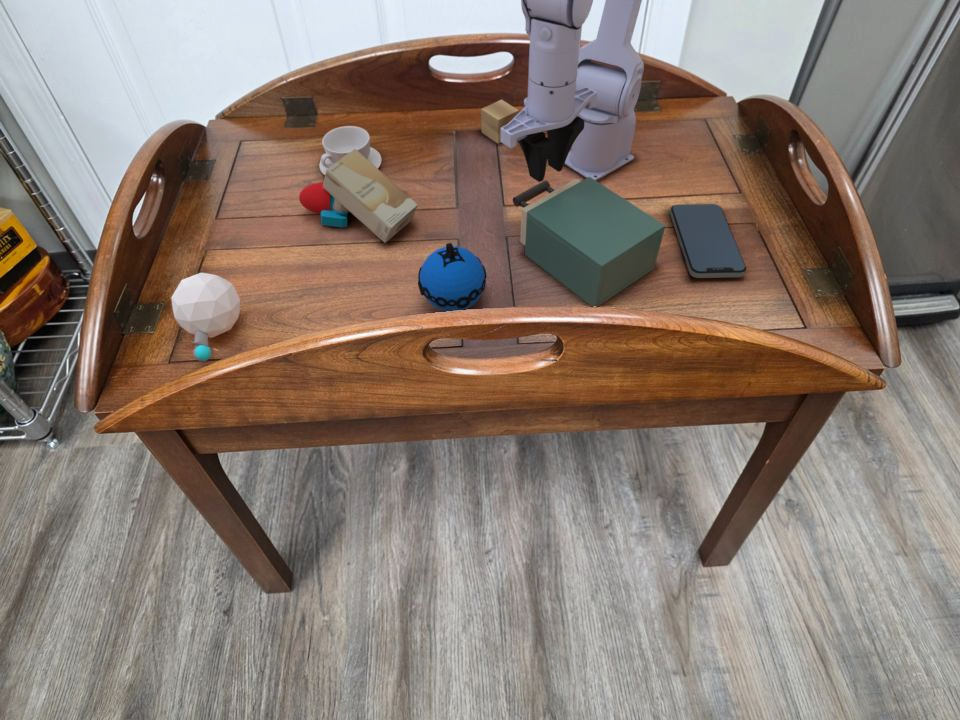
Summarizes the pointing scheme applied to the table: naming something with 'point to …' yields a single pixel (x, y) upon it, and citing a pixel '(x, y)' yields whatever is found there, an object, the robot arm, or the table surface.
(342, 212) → the toy figure
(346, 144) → the teacup
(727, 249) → the smartphone
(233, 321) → the perfume bottle
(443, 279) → the ornament
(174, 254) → the table surface
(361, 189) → the cosmetic box
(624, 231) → the cabinet
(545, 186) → the drawer
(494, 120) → the block
